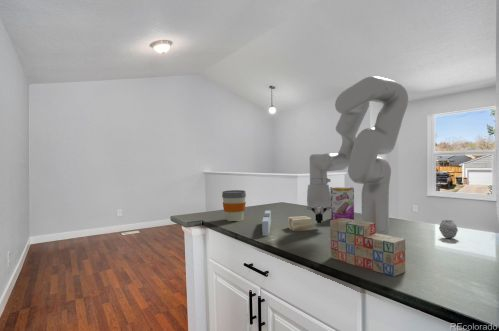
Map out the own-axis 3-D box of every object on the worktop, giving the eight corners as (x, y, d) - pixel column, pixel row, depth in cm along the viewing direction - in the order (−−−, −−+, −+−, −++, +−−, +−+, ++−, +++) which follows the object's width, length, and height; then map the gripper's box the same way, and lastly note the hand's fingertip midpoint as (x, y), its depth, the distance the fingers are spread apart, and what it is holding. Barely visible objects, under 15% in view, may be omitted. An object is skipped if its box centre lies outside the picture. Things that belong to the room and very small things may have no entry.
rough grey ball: (454, 236, 123) (454, 218, 123) (461, 240, 116) (460, 222, 116) (436, 235, 124) (436, 217, 124) (442, 240, 118) (442, 221, 118)
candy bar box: (331, 220, 158) (331, 187, 157) (330, 218, 163) (329, 186, 162) (354, 220, 156) (354, 187, 156) (352, 218, 161) (351, 186, 161)
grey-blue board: (268, 235, 130) (268, 220, 130) (262, 235, 131) (262, 220, 131) (270, 222, 156) (270, 209, 156) (265, 222, 157) (265, 210, 156)
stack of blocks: (406, 272, 87) (405, 227, 87) (393, 277, 84) (393, 231, 83) (342, 254, 105) (342, 217, 104) (330, 257, 101) (329, 219, 101)
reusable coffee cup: (246, 222, 159) (245, 192, 159) (221, 222, 159) (220, 193, 159) (246, 217, 171) (246, 189, 171) (223, 217, 172) (223, 190, 171)
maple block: (312, 230, 139) (312, 218, 139) (293, 231, 138) (292, 220, 138) (307, 226, 146) (306, 216, 146) (288, 228, 145) (288, 217, 145)
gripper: (334, 180, 143) (334, 220, 144) (301, 181, 145) (301, 220, 146) (337, 182, 136) (337, 224, 137) (301, 182, 138) (302, 224, 138)
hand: (319, 222), depth 141 cm, fingers closed
